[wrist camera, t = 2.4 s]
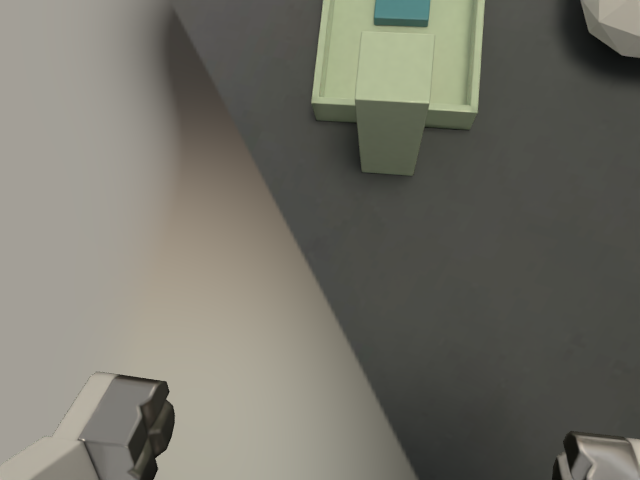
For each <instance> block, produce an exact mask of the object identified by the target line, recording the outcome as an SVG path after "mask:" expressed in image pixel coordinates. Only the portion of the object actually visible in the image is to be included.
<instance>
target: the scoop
mask: <svg viewBox="0 0 640 480" xmlns="http://www.w3.org/2000/svg"><path fill="white" fill-rule="evenodd" d="M484 6H485V0H431V1H430V13H429V22H428V26H427V27H415V26H391V25H374V10H375V0H323V6H322V15H321V23H320V32H319V40H318V49H317V58H316V66H315V75H314V83H313V92H312V100H311V103H312V107H313V110H314V114H315V117H316V120H323V121H339V122H355V123H357V130H358V140H359V150H360V161H361V171H362V172H368V173H382V174H395V175H409V176H413V175H414V171H415V166H416V162H417V158H418V153H419V149H420V144H421V140H422V135H423V131H424V127H435V128H451V129H467V130H470V128H471V126H472V124H473V121H474V119H475V117H476V115H477V113H478V100H479V84H480V69H481V53H482V37H483V22H484Z"/></svg>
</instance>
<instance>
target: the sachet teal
mask: <svg viewBox="0 0 640 480" xmlns="http://www.w3.org/2000/svg"><path fill="white" fill-rule="evenodd" d="M430 1H431V0H375V10H374V25H391V26H415V27H427V26H428V22H429V13H430Z"/></svg>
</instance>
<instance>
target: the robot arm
mask: <svg viewBox="0 0 640 480" xmlns="http://www.w3.org/2000/svg"><path fill="white" fill-rule="evenodd" d="M168 394H169V389H168V385H167V382H166V381H159V380H153V379H146V378H139V377H132V376H125V375H120V374H112V373H104V372H96V373H94V374H93V375H92V376H91V377H90V378H89V379H88V380H87V382H86V383H85V385H84V387H83V388H82V390H81V391H80V393H79V394H78V396H77V397H76V399H75V401H74V402H73V404H72V405H71V407H70V408H69V410H68V411H67V413H66V415H65V416H64V418H63V420H62V421H61V422H60V424H59V426H58V427H57V429H56V430H55V432H54V433H53V435H52V436H44V437H42V438H41V439H39V440H38V441H36V442H35V443H33V444H32V445H30V446H29V447H27V448H25V449H24V450H22V451H21V452H19V453H18V454H16V455H15V456H14V457H12V458H10V459H9V460H7V461H5V462H4V463H2V464H1V465H0V480H153V479H154V477H155V475H156V472H157V470H158V467H157V463H156V460H155V458H156V457H157V456H159V455H160V454H161V453H163V452H164V451H165V450H166V449H167V447H168V444H169V442H170V439H171V437H172V432H173V428H174V423H175V422H174V421H175V420H174V419H175V415H174V414H175V413H174V409H173V405H171V403H170V402H168V401H167V400H166V398H167V396H168ZM563 444H564V448H565V452H563V453H561V454H559V455H557V457H556V460H555V463H554V465H553V474H552V480H640V439H631V438H624V437H620V436H611V435H602V434H593V433H584V432H575V431H570V432H569V433H567V434H566V437H565V439H564V441H563Z"/></svg>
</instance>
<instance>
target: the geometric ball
mask: <svg viewBox="0 0 640 480" xmlns="http://www.w3.org/2000/svg"><path fill="white" fill-rule="evenodd" d="M580 1H581V5H582V8H583V12H584V16H585V20H586V24H587V27H588V31H589V33H591V34H592V35H593V36H595V37H596V38H598V39H599V40H601V41H602V42H603V43H605V44H606V45H608V46H609V47H611V48H612V49H613V50H615V51H616V52H618V53H619V54H621V55H622V56H629V57H637V58H640V0H580Z"/></svg>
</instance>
